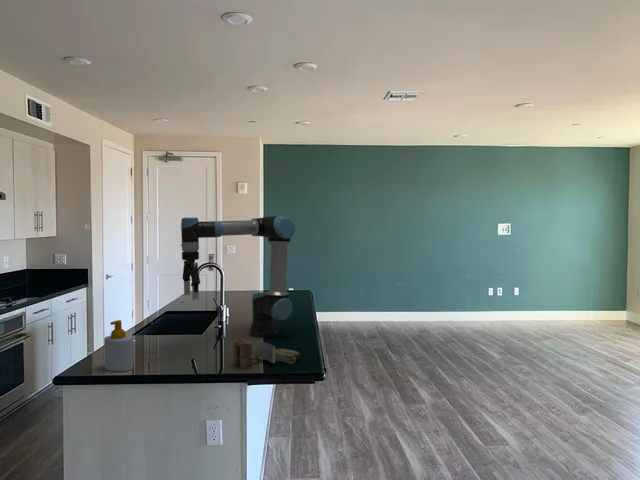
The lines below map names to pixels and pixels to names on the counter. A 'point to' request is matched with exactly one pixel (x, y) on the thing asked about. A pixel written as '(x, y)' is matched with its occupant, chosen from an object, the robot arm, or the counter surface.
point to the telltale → (256, 355)
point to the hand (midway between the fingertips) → (191, 297)
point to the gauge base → (243, 353)
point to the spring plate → (265, 351)
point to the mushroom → (286, 356)
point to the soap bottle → (118, 349)
